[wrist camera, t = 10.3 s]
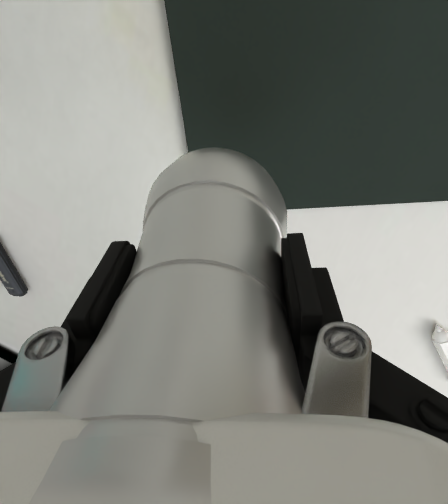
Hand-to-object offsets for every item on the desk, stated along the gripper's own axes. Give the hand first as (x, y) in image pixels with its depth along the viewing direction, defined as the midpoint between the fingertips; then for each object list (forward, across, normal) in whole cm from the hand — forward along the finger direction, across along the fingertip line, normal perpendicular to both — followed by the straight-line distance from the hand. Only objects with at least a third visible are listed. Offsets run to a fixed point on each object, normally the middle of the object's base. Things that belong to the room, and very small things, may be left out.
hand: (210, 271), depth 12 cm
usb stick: (+22, +30, +16) cm, 41 cm away
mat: (+22, -11, 0) cm, 25 cm away
